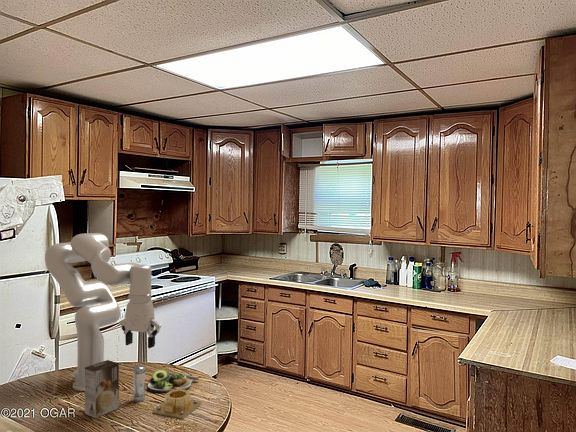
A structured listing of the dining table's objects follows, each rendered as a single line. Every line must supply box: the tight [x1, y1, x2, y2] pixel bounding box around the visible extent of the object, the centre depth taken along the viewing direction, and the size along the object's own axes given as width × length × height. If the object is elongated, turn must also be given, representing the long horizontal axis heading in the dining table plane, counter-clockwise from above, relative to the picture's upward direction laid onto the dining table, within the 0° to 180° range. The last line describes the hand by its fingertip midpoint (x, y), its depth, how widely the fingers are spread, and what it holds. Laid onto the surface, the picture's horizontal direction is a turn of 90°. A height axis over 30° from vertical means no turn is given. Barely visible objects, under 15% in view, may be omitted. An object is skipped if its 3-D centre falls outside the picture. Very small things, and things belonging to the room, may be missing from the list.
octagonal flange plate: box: [152, 388, 202, 420], centre depth 153 cm, size 12×12×5 cm
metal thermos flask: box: [132, 364, 146, 403], centre depth 159 cm, size 4×4×12 cm
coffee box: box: [84, 359, 120, 419], centre depth 150 cm, size 9×6×16 cm
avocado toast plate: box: [146, 368, 200, 394], centre depth 174 cm, size 19×18×5 cm
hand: (140, 345), depth 159 cm, fingers open, 9 cm apart
